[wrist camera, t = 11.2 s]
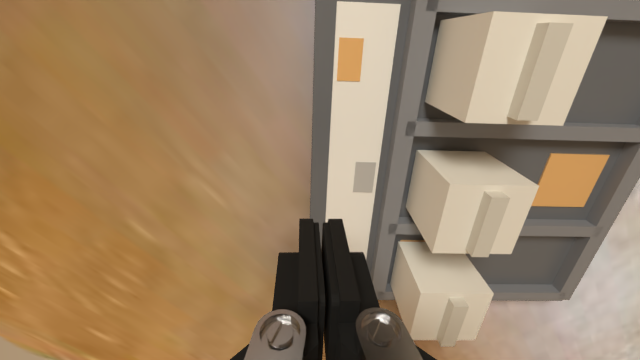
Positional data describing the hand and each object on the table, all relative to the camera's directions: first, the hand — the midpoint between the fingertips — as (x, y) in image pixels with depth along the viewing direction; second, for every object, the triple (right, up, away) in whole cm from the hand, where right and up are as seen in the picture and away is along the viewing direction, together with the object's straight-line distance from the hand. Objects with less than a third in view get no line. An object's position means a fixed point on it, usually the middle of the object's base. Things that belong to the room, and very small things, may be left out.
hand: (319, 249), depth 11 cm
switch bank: (+9, +3, +7) cm, 12 cm away
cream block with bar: (+8, +9, +3) cm, 12 cm away
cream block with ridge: (+7, +3, +6) cm, 10 cm away
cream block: (+7, -3, +9) cm, 12 cm away
